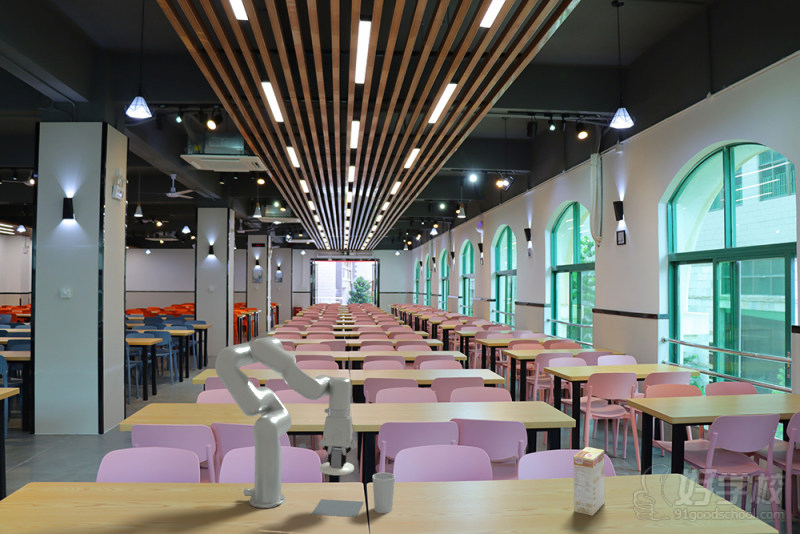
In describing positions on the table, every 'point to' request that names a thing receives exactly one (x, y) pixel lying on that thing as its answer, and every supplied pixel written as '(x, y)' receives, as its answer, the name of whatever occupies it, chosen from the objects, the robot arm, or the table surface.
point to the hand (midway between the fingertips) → (337, 464)
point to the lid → (336, 464)
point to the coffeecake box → (589, 481)
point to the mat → (338, 508)
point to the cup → (383, 492)
